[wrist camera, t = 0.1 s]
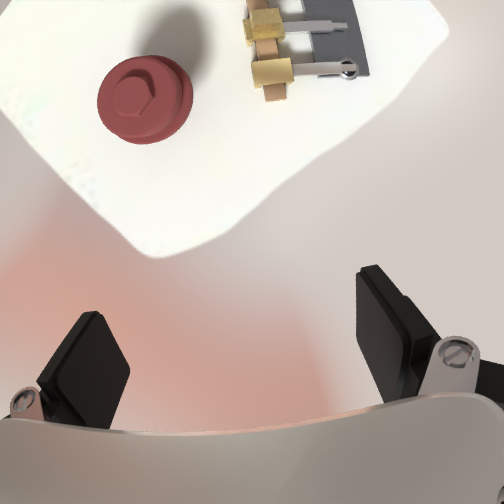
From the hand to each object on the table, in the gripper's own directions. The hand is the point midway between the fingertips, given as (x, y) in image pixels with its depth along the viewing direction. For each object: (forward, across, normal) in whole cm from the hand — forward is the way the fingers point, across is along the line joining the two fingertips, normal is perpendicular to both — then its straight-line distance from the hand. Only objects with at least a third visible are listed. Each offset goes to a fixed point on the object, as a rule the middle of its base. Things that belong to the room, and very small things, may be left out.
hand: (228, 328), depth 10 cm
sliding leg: (+31, -10, -19) cm, 38 cm away
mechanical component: (+31, +8, -12) cm, 34 cm away
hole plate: (+31, -16, -21) cm, 41 cm away
